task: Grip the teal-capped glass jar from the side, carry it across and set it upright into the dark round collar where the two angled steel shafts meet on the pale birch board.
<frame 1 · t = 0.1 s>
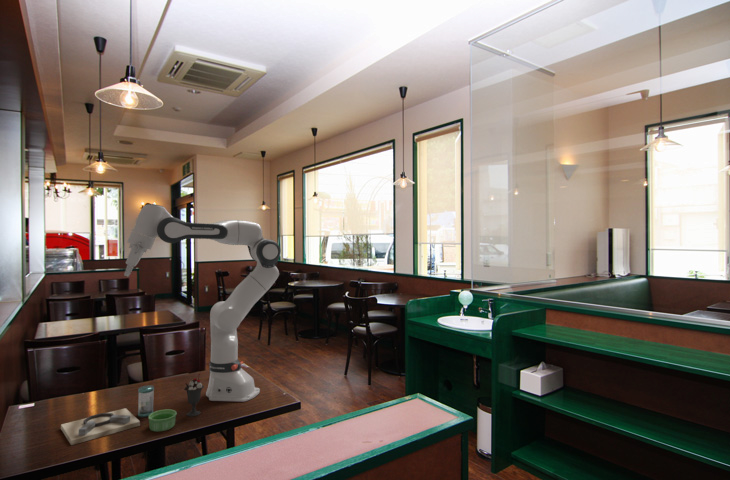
hand: (126, 275, 159), 52 cm above the table, tool tilted 20°, fingers open, 8 cm apart
ramekin: (162, 427, 143), on the table
teal-capped glass jar: (145, 414, 153), on the table
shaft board: (100, 427, 142), on the table
sundae: (193, 414, 154), on the table
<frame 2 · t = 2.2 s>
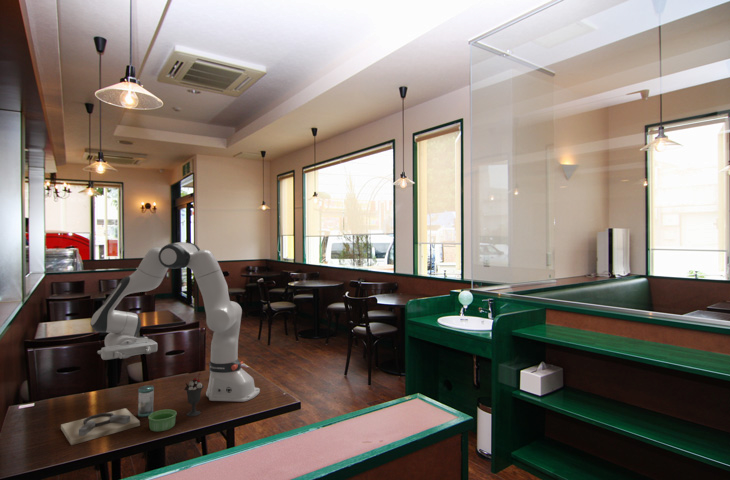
hand: (136, 354, 161), 20 cm above the table, tool horizontal, fingers open, 8 cm apart
nothing on the table moved.
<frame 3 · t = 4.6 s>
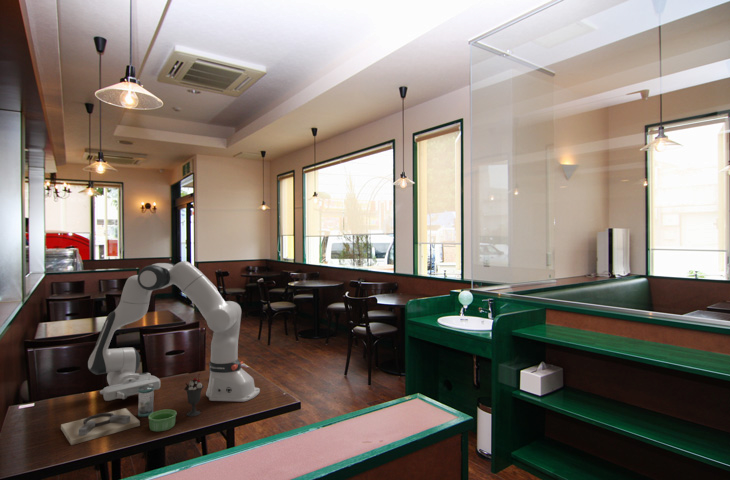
hand: (138, 393, 159), 5 cm above the table, tool horizontal, fingers open, 8 cm apart
nothing on the table moved.
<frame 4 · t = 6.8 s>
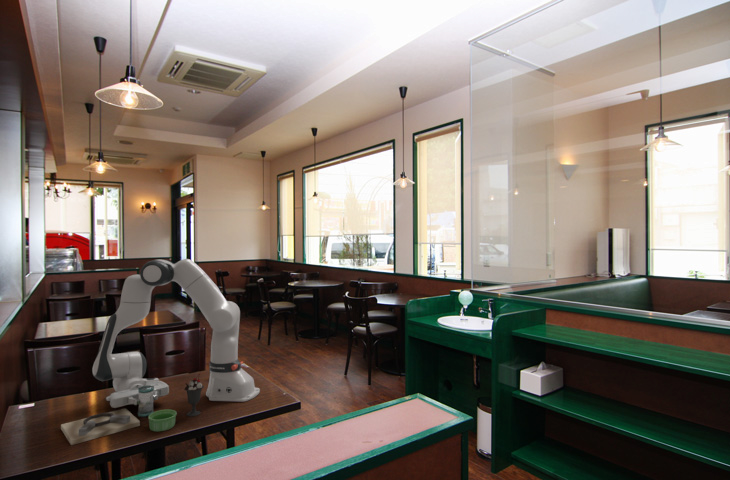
hand: (146, 400, 152), 6 cm above the table, tool horizontal, fingers closed on teal-capped glass jar, 5 cm apart
teal-capped glass jar: (145, 414, 153), on the table, touching gripper
everything else where it was.
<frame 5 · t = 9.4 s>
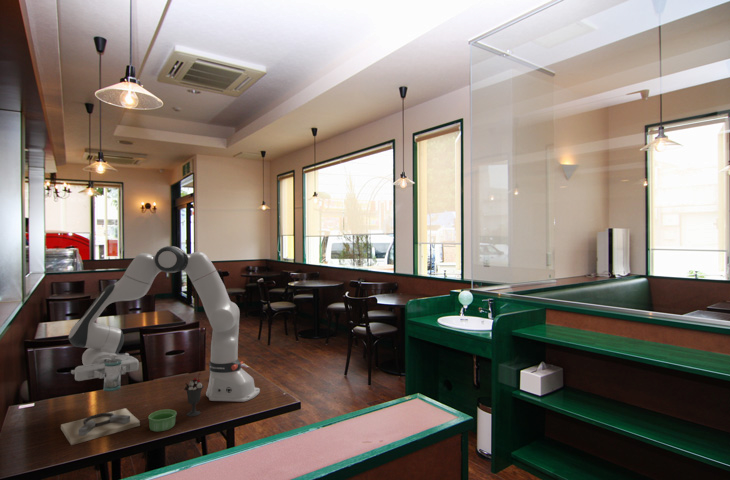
hand: (113, 374, 145), 17 cm above the table, tool horizontal, fingers closed on teal-capped glass jar, 5 cm apart
teal-capped glass jar: (112, 388, 146), point 12 cm above the table, touching gripper
when the fingers open (8 cm above the table, at t = 12.3 s): teal-capped glass jar stays where it is, resting on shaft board.
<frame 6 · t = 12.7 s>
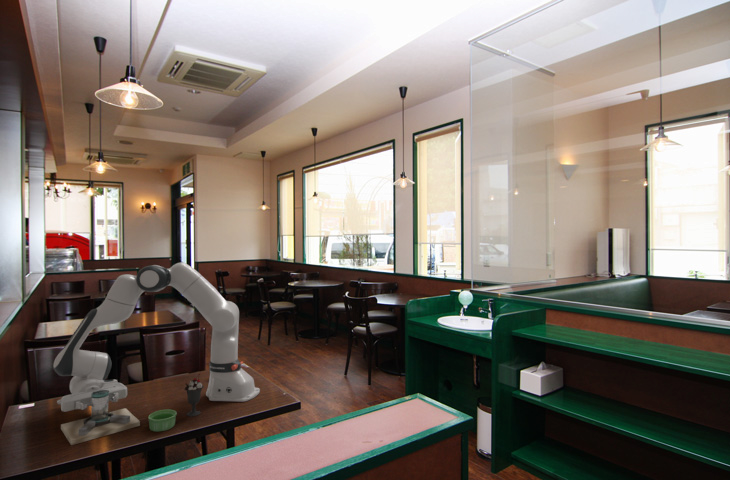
hand: (100, 403, 142), 8 cm above the table, tool horizontal, fingers open, 8 cm apart
teal-capped glass jar: (99, 421, 143), point 2 cm above the table, touching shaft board
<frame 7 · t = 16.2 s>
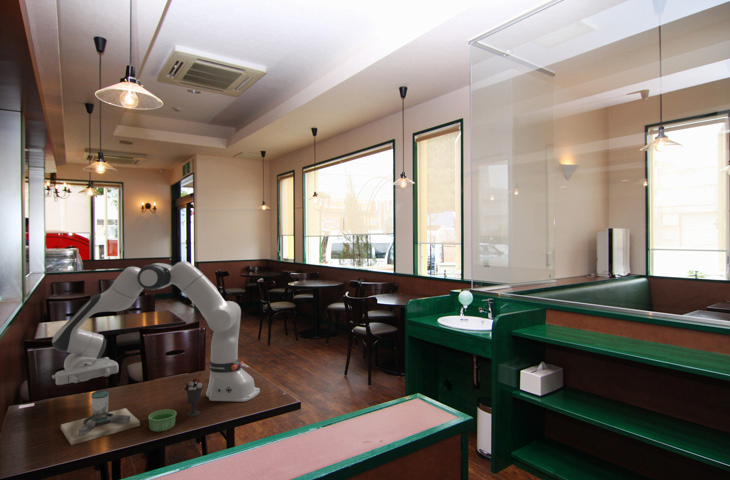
hand: (92, 377, 151), 14 cm above the table, tool horizontal, fingers open, 8 cm apart
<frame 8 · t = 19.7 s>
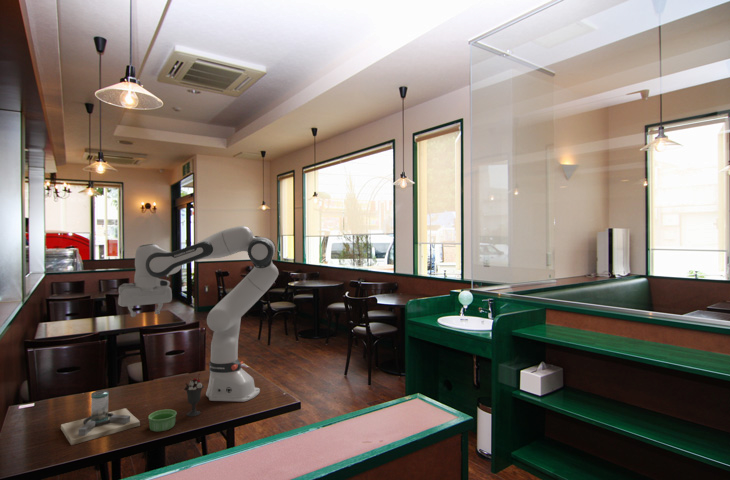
hand: (145, 315, 171), 34 cm above the table, tool pointing down, fingers open, 8 cm apart
at the end: teal-capped glass jar 0.1 cm from the target spot, point 1.5 cm above the table; teal-capped glass jar tilted 0°; the gripper is holding nothing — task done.
